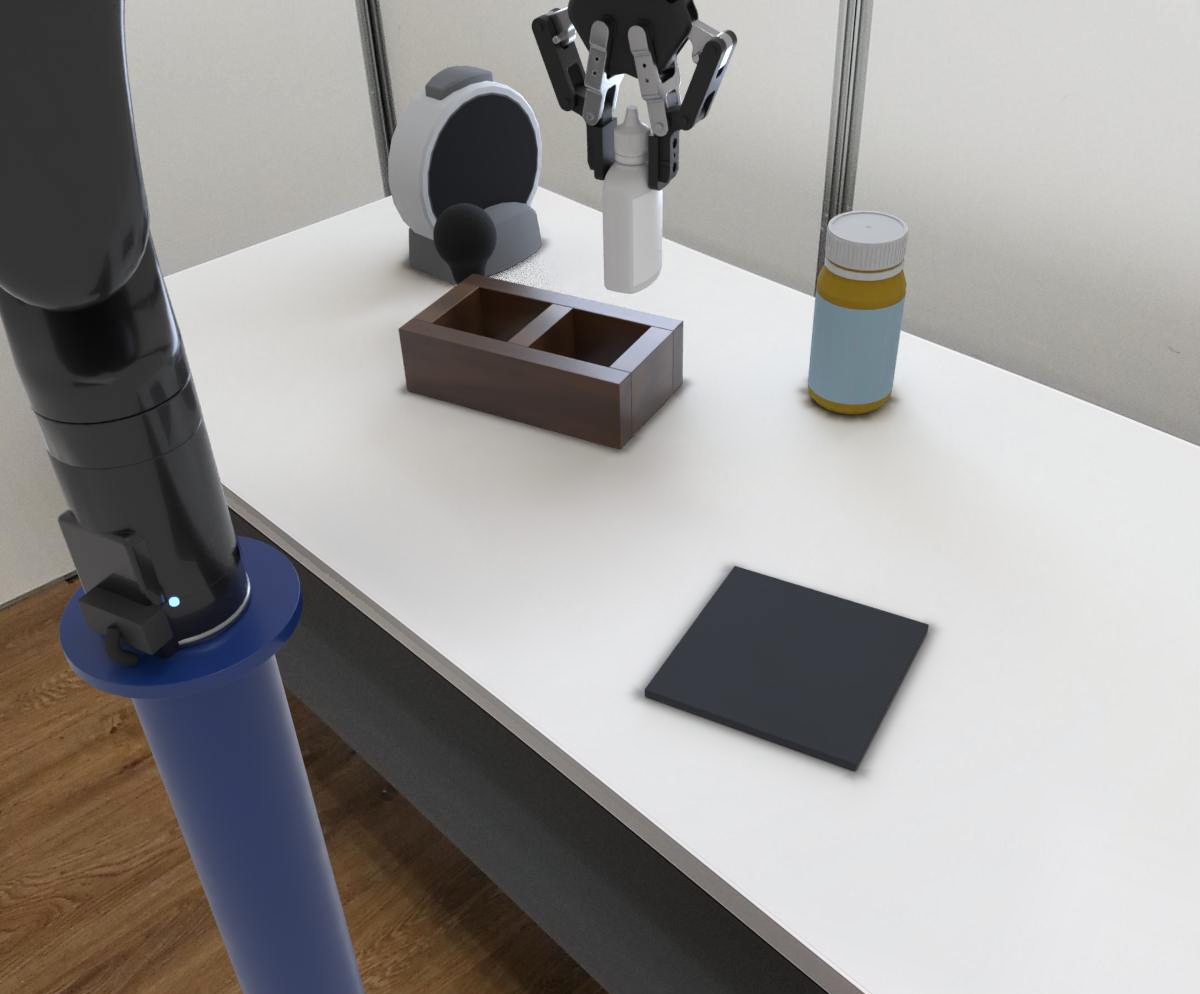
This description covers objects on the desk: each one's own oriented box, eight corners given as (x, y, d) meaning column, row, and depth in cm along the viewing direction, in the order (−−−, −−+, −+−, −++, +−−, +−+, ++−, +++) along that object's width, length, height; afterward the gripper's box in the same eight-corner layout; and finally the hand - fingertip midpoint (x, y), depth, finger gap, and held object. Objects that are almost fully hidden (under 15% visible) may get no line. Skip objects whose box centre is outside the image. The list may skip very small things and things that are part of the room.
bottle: (848, 366, 110) (867, 200, 101) (908, 398, 106) (933, 228, 96) (789, 392, 107) (803, 224, 98) (848, 427, 103) (868, 254, 93)
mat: (855, 771, 74) (856, 764, 74) (644, 696, 80) (644, 689, 79) (927, 630, 84) (929, 624, 83) (734, 571, 89) (734, 565, 89)
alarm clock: (449, 295, 123) (427, 105, 111) (383, 266, 128) (356, 81, 117) (566, 241, 132) (557, 59, 120) (500, 215, 137) (485, 39, 125)
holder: (620, 449, 101) (619, 384, 97) (407, 390, 109) (397, 328, 106) (682, 383, 109) (683, 320, 105) (478, 333, 117) (472, 272, 113)
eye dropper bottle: (683, 278, 90) (686, 106, 82) (619, 300, 87) (617, 126, 79) (646, 257, 92) (646, 89, 85) (583, 278, 90) (577, 107, 82)
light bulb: (456, 289, 124) (445, 190, 118) (511, 296, 123) (503, 196, 116) (431, 316, 120) (419, 215, 113) (489, 324, 118) (479, 222, 112)
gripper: (495, -102, 74) (514, 184, 85) (716, -82, 69) (706, 220, 80) (557, -126, 79) (568, 147, 90) (767, -109, 74) (751, 178, 85)
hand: (633, 180), depth 85 cm, fingers closed on eye dropper bottle, 3 cm apart
